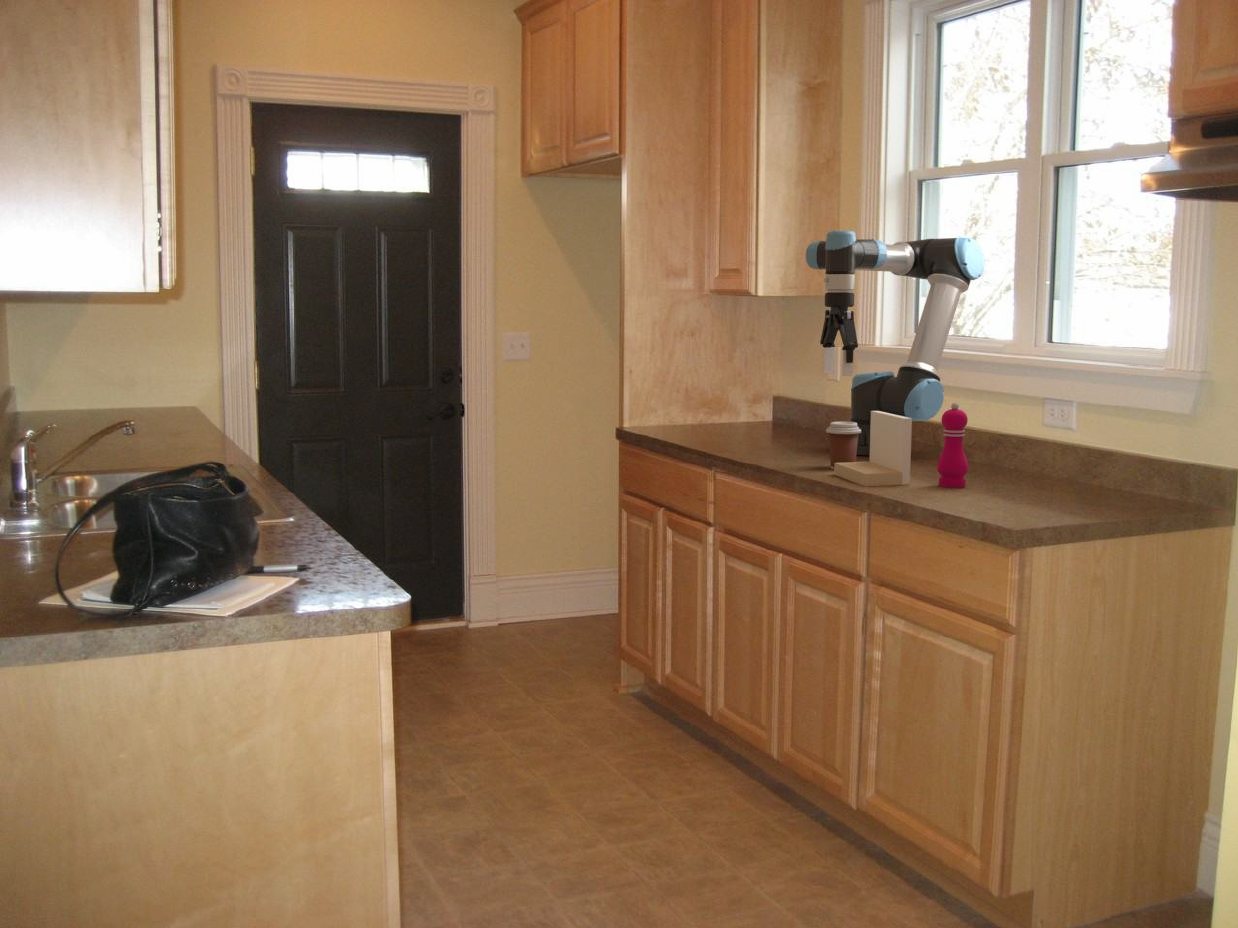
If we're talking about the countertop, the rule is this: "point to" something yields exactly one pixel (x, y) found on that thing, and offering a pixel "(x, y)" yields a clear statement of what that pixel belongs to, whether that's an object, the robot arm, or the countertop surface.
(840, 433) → the coffee cup
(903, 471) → the board
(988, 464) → the countertop surface
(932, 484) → the countertop surface
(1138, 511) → the countertop surface
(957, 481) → the pepper mill
